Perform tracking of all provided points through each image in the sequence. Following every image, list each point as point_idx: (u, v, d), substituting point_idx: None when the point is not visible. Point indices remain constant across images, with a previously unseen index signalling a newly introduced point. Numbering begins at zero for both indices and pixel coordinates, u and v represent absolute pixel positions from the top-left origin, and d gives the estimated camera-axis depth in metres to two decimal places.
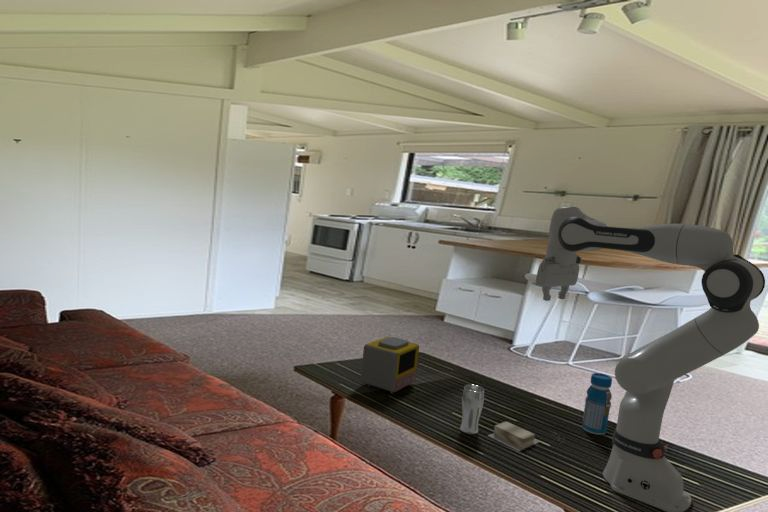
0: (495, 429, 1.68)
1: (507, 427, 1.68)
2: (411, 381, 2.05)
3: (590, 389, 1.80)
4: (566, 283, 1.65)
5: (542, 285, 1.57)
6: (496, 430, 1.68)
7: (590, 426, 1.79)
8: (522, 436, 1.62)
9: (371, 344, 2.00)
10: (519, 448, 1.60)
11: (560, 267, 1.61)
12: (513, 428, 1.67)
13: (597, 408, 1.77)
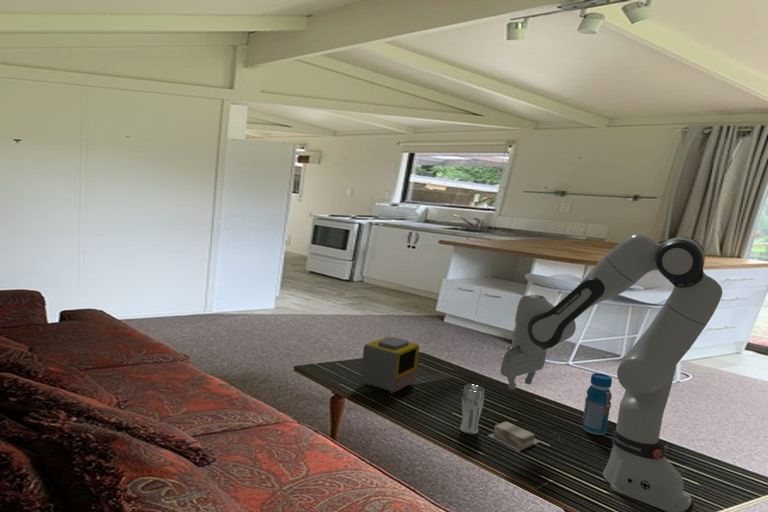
0: (495, 429, 1.68)
1: (507, 427, 1.68)
2: (411, 381, 2.05)
3: (590, 389, 1.80)
4: (533, 370, 1.66)
5: (507, 376, 1.58)
6: (496, 430, 1.68)
7: (590, 426, 1.79)
8: (522, 436, 1.62)
9: (371, 344, 2.00)
10: (519, 448, 1.60)
11: (525, 356, 1.61)
12: (513, 428, 1.67)
13: (597, 408, 1.77)
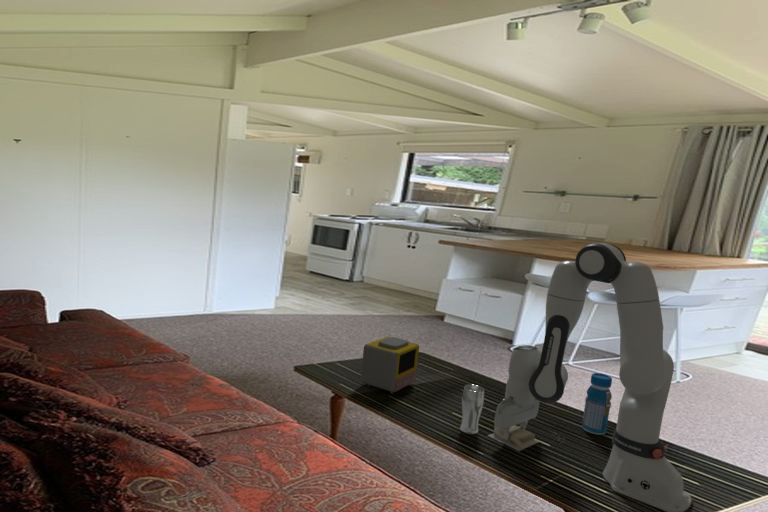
0: (495, 429, 1.68)
1: None
2: (411, 381, 2.05)
3: (590, 389, 1.80)
4: (526, 419, 1.67)
5: (500, 427, 1.59)
6: (496, 430, 1.68)
7: (590, 426, 1.79)
8: (522, 436, 1.62)
9: (371, 344, 2.00)
10: (519, 448, 1.60)
11: (518, 407, 1.63)
12: (513, 428, 1.67)
13: (597, 408, 1.77)
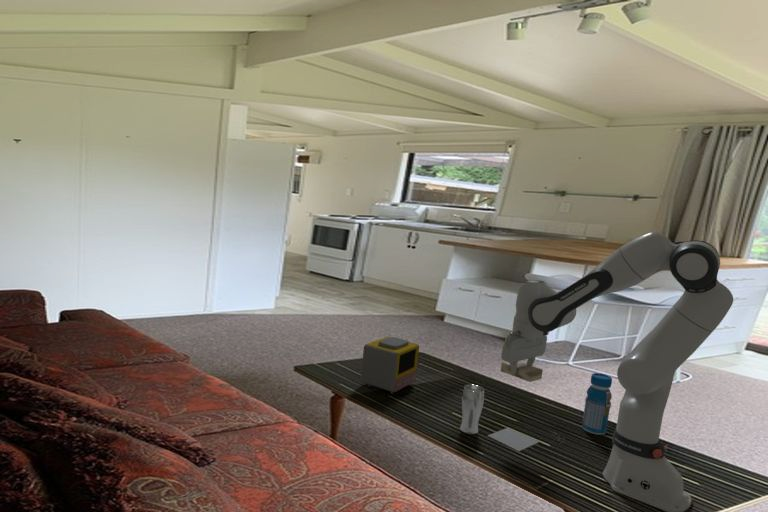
0: (502, 366, 1.66)
1: None
2: (411, 381, 2.05)
3: (590, 389, 1.80)
4: (533, 355, 1.65)
5: (507, 361, 1.57)
6: (503, 367, 1.66)
7: (590, 426, 1.79)
8: (530, 370, 1.60)
9: (371, 344, 2.00)
10: (519, 448, 1.60)
11: (526, 341, 1.60)
12: (520, 365, 1.65)
13: (597, 408, 1.77)
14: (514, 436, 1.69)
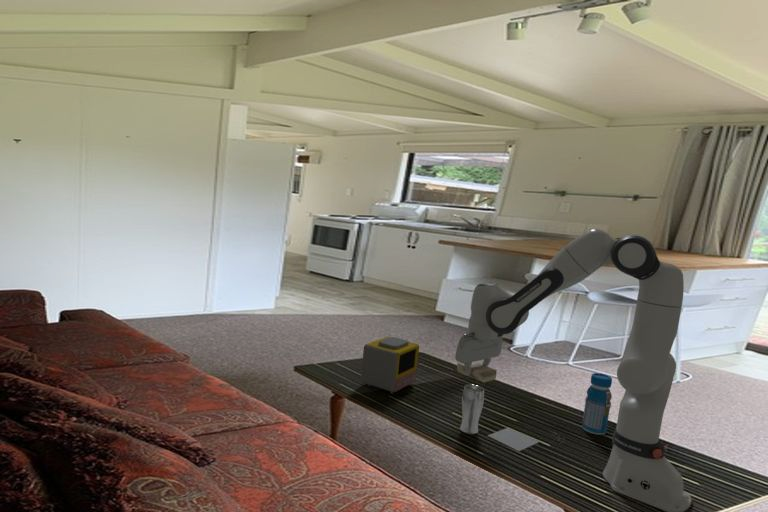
0: (458, 366, 1.70)
1: None
2: (411, 381, 2.05)
3: (590, 389, 1.80)
4: (488, 356, 1.69)
5: (461, 361, 1.61)
6: (459, 367, 1.69)
7: (590, 426, 1.79)
8: (483, 371, 1.64)
9: (371, 344, 2.00)
10: (519, 448, 1.60)
11: (480, 342, 1.64)
12: (475, 365, 1.69)
13: (597, 408, 1.77)
14: (514, 436, 1.69)
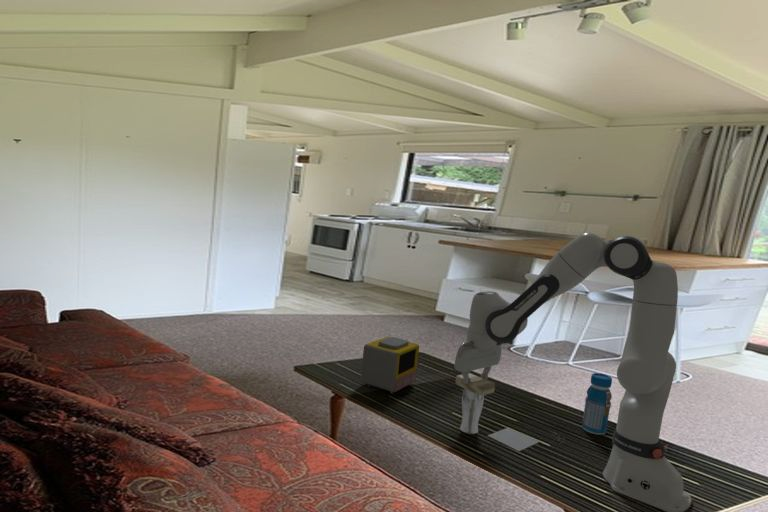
0: (457, 379, 1.70)
1: None
2: (411, 381, 2.05)
3: (590, 389, 1.80)
4: (487, 365, 1.69)
5: (460, 370, 1.61)
6: (457, 380, 1.70)
7: (590, 426, 1.79)
8: (482, 384, 1.64)
9: (371, 344, 2.00)
10: (519, 448, 1.60)
11: (479, 351, 1.64)
12: (474, 378, 1.69)
13: (597, 408, 1.77)
14: (514, 436, 1.69)
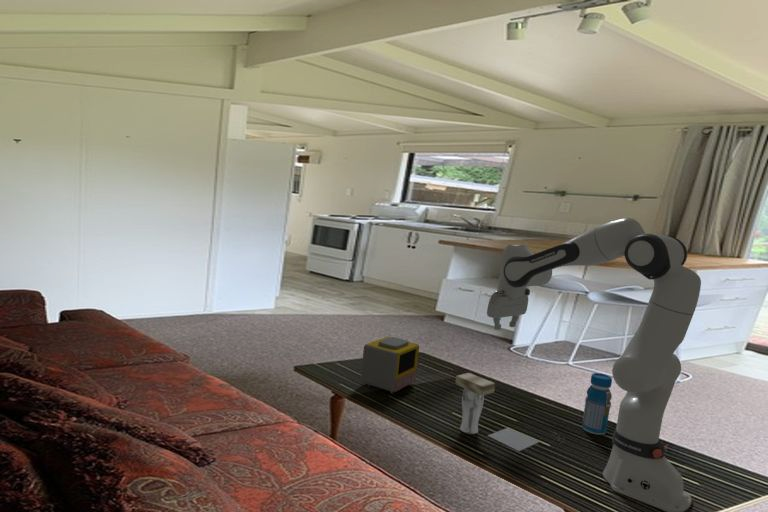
0: (457, 379, 1.70)
1: (468, 377, 1.70)
2: (411, 381, 2.05)
3: (590, 389, 1.80)
4: (516, 313, 1.82)
5: (492, 316, 1.73)
6: (457, 380, 1.70)
7: (590, 426, 1.79)
8: (482, 384, 1.64)
9: (371, 344, 2.00)
10: (519, 448, 1.60)
11: (509, 299, 1.77)
12: (474, 378, 1.69)
13: (597, 408, 1.77)
14: (514, 436, 1.69)
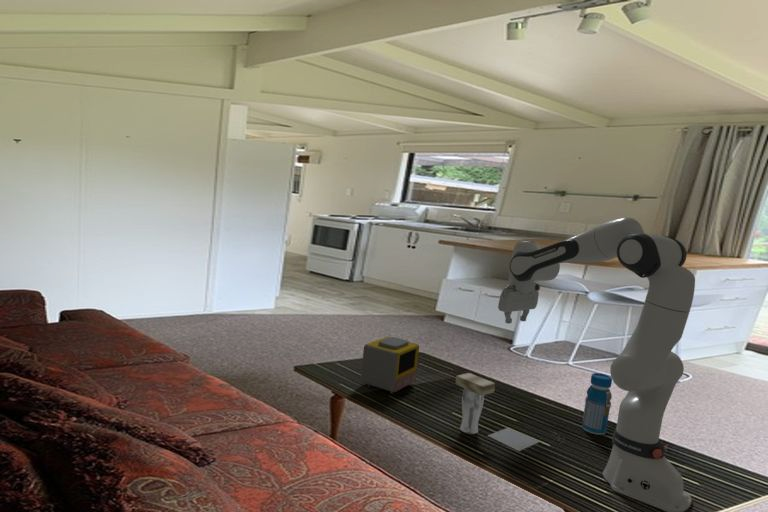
0: (457, 379, 1.70)
1: (468, 377, 1.70)
2: (411, 381, 2.05)
3: (590, 389, 1.80)
4: (527, 308, 1.88)
5: (503, 310, 1.80)
6: (458, 380, 1.70)
7: (590, 426, 1.79)
8: (482, 384, 1.64)
9: (371, 344, 2.00)
10: (519, 448, 1.60)
11: (520, 294, 1.83)
12: (474, 378, 1.69)
13: (597, 408, 1.77)
14: (514, 436, 1.69)
